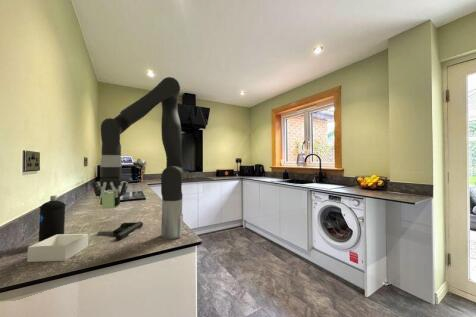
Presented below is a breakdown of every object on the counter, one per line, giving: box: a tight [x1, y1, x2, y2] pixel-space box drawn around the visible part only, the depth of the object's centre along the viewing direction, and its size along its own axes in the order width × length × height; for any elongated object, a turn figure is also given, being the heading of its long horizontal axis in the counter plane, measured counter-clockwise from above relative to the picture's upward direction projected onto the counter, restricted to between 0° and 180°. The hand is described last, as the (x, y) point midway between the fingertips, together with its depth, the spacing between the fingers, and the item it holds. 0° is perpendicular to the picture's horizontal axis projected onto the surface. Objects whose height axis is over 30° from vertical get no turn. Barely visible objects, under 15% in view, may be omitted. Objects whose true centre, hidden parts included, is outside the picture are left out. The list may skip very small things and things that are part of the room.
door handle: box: [97, 220, 144, 241], centre depth 96 cm, size 3×20×16 cm
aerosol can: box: [38, 195, 67, 242], centre depth 82 cm, size 8×8×20 cm
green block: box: [101, 191, 119, 210], centre depth 83 cm, size 4×4×6 cm
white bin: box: [26, 233, 89, 263], centre depth 73 cm, size 12×12×5 cm
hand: (110, 205), depth 83 cm, fingers closed on green block, 4 cm apart
